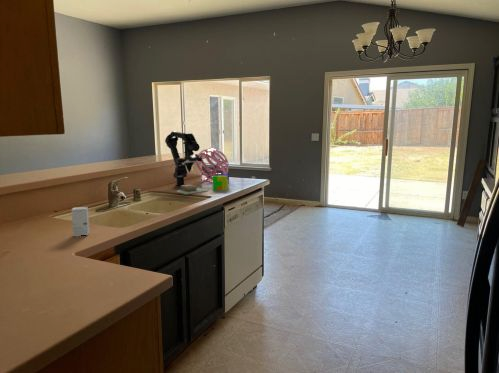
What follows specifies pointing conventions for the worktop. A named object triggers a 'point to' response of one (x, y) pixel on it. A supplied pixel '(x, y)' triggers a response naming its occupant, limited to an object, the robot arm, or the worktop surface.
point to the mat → (192, 191)
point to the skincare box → (80, 221)
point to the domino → (188, 188)
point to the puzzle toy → (221, 182)
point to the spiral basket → (216, 167)
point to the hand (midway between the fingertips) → (189, 171)
